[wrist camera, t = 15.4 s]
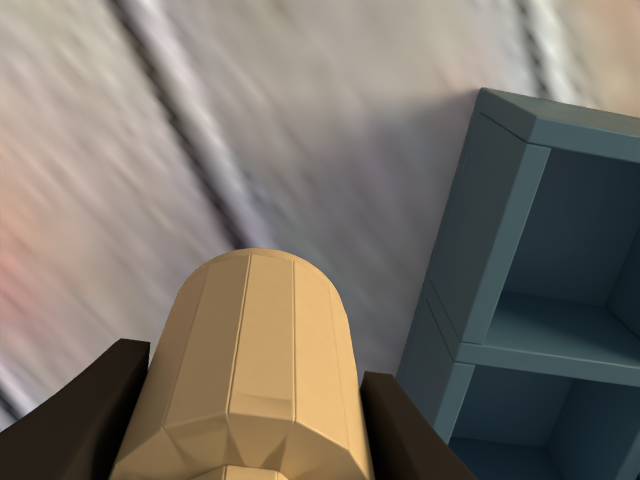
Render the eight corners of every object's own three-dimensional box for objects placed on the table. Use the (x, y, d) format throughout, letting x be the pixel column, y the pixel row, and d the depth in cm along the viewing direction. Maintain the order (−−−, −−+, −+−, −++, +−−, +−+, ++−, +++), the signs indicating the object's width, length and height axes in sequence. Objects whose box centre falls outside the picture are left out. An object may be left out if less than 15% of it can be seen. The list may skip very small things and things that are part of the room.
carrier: (691, 469, 26) (771, 564, 21) (379, 431, 24) (399, 526, 20) (863, 162, 20) (1013, 207, 16) (479, 86, 19) (535, 115, 15)
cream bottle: (328, 406, 17) (360, 743, 9) (161, 385, 16) (52, 724, 9) (364, 262, 15) (436, 532, 7) (178, 233, 14) (58, 493, 7)
